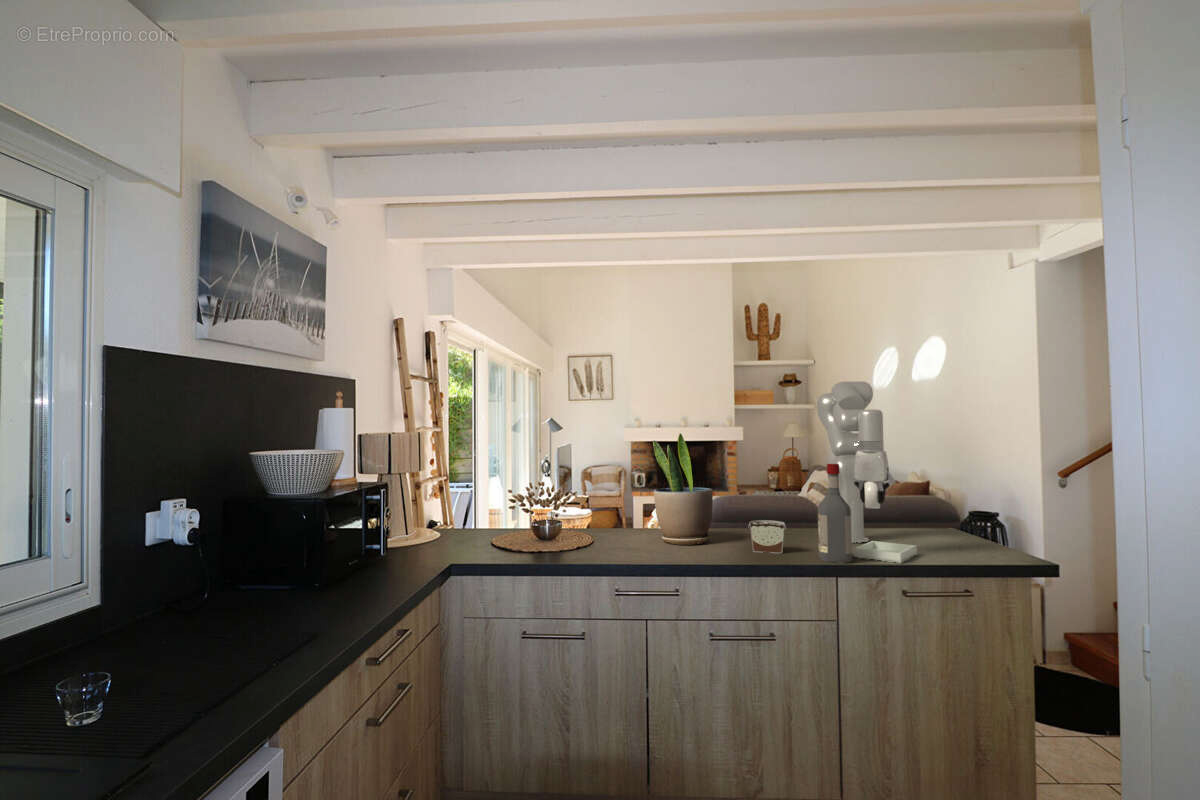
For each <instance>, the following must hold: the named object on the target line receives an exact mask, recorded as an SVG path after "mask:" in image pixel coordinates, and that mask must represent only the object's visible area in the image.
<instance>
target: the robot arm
mask: <svg viewBox="0 0 1200 800" xmlns="http://www.w3.org/2000/svg"><path fill="white" fill-rule="evenodd" d="M873 396H874V391H873V388H872V386H871V385H870V383H869V382H866V381H862V380H861V381H839V382H837V383H835V384H834V385H832V387H831V391H830V392H828V393H824V394H821V395H820V396H818V398H817V400H816V410H817V411H816V412H817V415H818V418H819V420H820V422H821V424H822V425H823V426H824V428H825V431H826V433H827V437H828V441H829V445H830V449H831V451H832V454H833V455H834V458H833V460H832V463H831V464H839V474H838V476H839V492H840V496H841V497H842V498H843V499H844V501H845V502H846V503H847V504H848V505H849V507H850V509H851V537H852V544H862V543H861V542H867V543H868V541H869V540H870V539H869V538H868V537H866V536H865V533H864V532H865V531H864V529H865V527H864V503H865V488H864V481H868V482H878V486H879V491H878V503H879V504H880V505H881V504H884V502H885V500H886V499H885V498H886V497H885V494H886V492H885V491H886V490H887V489H888V488H889V487H891V486H892V485H894V484H895V483H896V481H897V480H896V479H895V478H894V477H893V475H892V474H891V472H890V468H889V467H890V466H889V461H888V455H887V452H886V451H885V450H884V447H885V446H884V413H883V412H882V410H881V409H874V408H873V409H872V408H871V409H870V408H869V409H866V408H867V407H868V406H869V405H870V404H871V402H872V400H873ZM885 482H886V483H885ZM854 542H855V543H854ZM856 542H858V543H856ZM869 542H870V541H869Z"/></svg>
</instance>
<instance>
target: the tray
mask: <svg viewBox="0 0 1200 800" xmlns="http://www.w3.org/2000/svg"><path fill="white" fill-rule="evenodd" d="M915 555H916V556H918V545H917V544H916V545H913V544H904V543H896V542H886V541H878V540H877V541H876V540H871V541H869V542H867V543H862V544H860V545H858V546H856V547H853V558H854V557H859V558H858V559H861V558H867V559H866V560H869V559H875V560H874V561H877V560H881V561H880V562H885V561H887V562H886V563H893V562H896V563H895V564H903V563H904V561H905V562H906V561H908V560H910V559H912V558H914V557H916V556H915ZM913 556H914V557H913ZM911 557H912V558H911ZM902 562H903V563H902Z"/></svg>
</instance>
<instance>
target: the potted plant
mask: <svg viewBox="0 0 1200 800" xmlns="http://www.w3.org/2000/svg"><path fill="white" fill-rule="evenodd" d="M652 443H653V452H654V455H655V458H656V461H657V463H658V465H659V467H660V468H661V469H662V470H663V471H662V472H663V473H664V475H665V477H666V479H667V483H668V484H669V487H667V488H666V487H662V488H656V489H653V496H654V506H655V514H656V520H657V524H658V527H659V529H660V531H661V533H662V536H661V539H662V540H663V542H665V543H668V544H672V545H686V546H687V545H689V546H690V545H700V544H705V543H707V542H708V541H709V540H710V539H711V536H710V534H708V533H709V531H710V528H711V525H712V518H713V503H714V502H713V489H712V488H710V487H709V488H707V487H693V486H694V484H693V483H694V482H693V481H694V480H693V473H692V463H691V457H690V454H689V450H688V446H687V443H686V441H685V439H684V437H683V435H682V433H680V432H679V434H678V438H677V453H678V459H679V463H680V465H679V464H678V460H677V458H676V456H675V454H674V452H673V449H672V448H671V447H670V445H669V444H668V445H667V446H666V447H667V455H666V454H665V452H664V451H663V449H662V447H661V446H660V444H659V443H658V441H656V440H653V442H652ZM666 456H667V457H666ZM680 466H681V467H680ZM681 469H682V470H683V472H684V474H685V477H686V479H687V483H688V487H684V479H683V476H682V471H681Z"/></svg>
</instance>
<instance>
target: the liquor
mask: <svg viewBox="0 0 1200 800" xmlns="http://www.w3.org/2000/svg"><path fill="white" fill-rule="evenodd" d="M826 474H827V494H826V495H825V497H823V499H822V500H821V501H820V502H819V503H818V506H817V531H818V534H817V535H818V536H817V537H818V538H817V539H818V541H817V542H818V556H819V558H820V560H821V562H823V561H824V563H828V562H842V563H841V564H847V563H846V562H850V563H851V562H852V560H853V551H852V550H853V545H852V544H853V543H852V537H851V509H850V507H849V505H848V504H847V503H846V502H845V501H844V499H843V498H842V497H841V496H840V492H839V476H838V474H839V464H832V463H826Z"/></svg>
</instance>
